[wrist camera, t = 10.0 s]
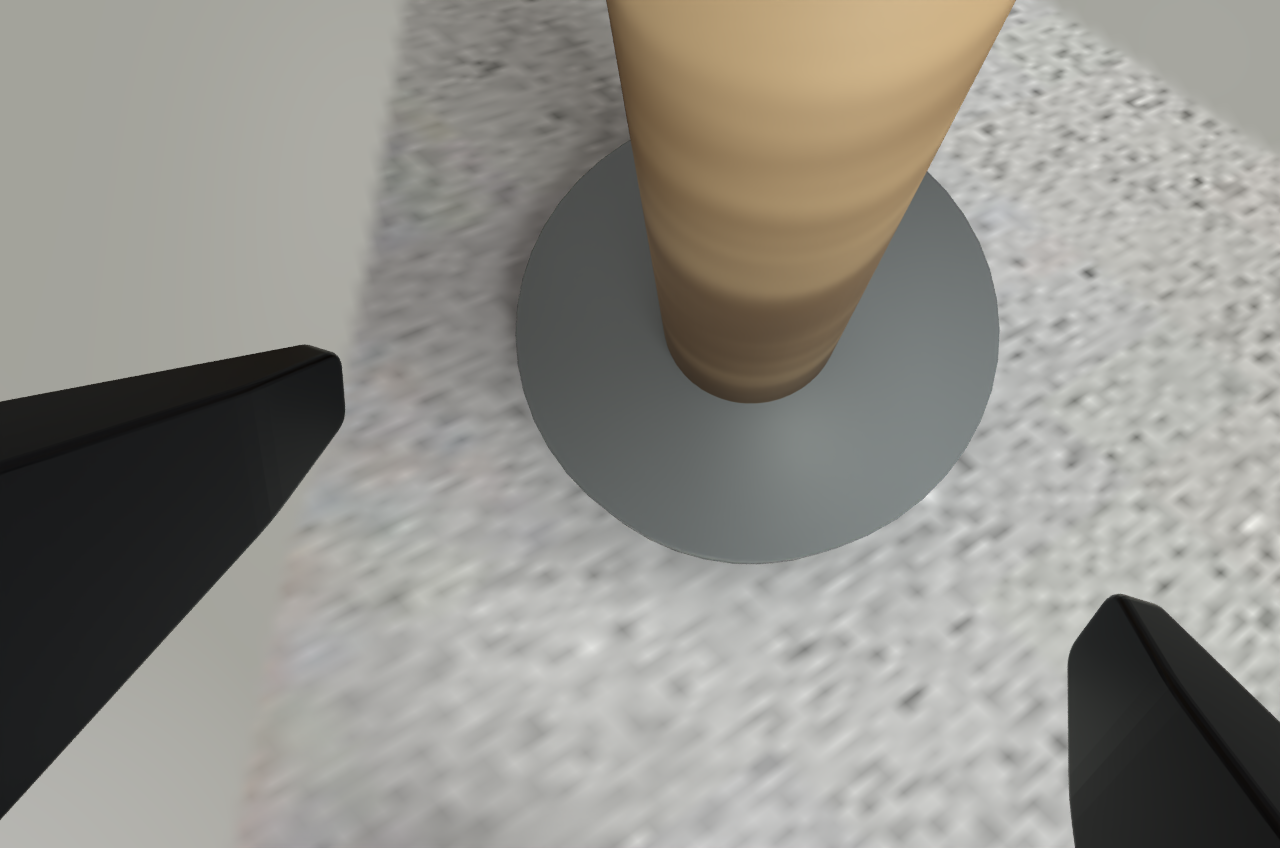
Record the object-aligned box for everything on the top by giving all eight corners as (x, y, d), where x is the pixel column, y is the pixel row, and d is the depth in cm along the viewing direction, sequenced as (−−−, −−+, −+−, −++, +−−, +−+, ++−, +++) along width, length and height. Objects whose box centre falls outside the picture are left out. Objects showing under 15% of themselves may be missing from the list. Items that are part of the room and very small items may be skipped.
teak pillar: (847, 397, 17) (1226, -126, 4) (668, 408, 17) (564, -51, 5) (829, 232, 17) (1104, -584, 5) (658, 246, 18) (552, -492, 6)
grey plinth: (992, 552, 18) (1036, 546, 16) (542, 574, 19) (518, 572, 16) (932, 144, 20) (962, 84, 18) (535, 181, 21) (513, 128, 19)
